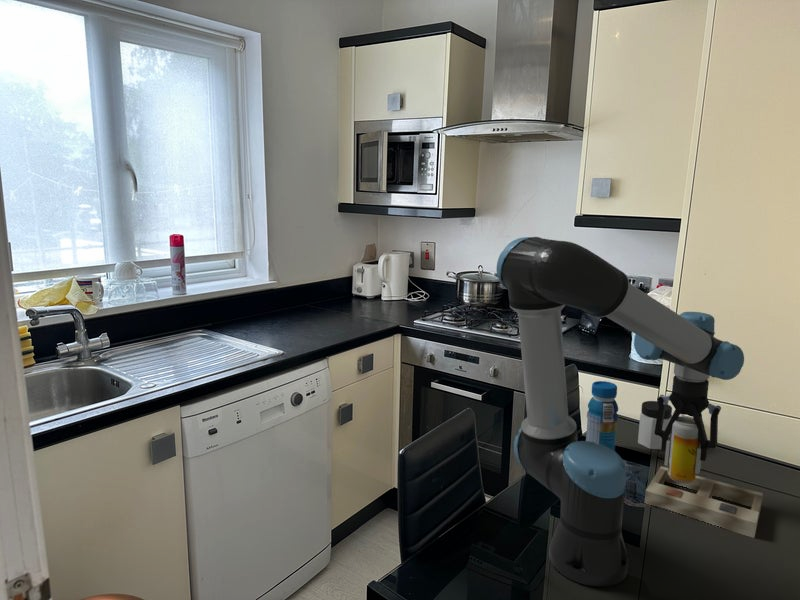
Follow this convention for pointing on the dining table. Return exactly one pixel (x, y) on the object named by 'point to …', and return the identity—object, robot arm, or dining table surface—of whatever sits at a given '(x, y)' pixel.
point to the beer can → (683, 450)
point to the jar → (652, 424)
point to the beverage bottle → (602, 414)
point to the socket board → (707, 502)
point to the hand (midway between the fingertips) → (682, 467)
